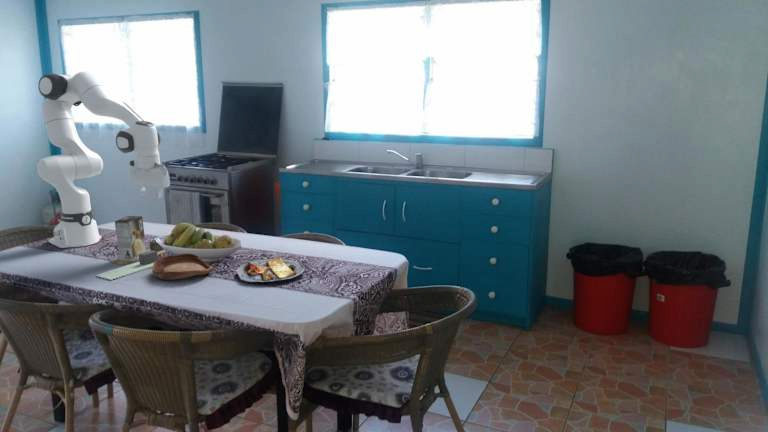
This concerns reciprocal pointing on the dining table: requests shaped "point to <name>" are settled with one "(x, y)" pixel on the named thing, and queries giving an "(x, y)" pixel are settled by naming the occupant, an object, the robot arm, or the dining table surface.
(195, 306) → the dining table surface
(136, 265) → the sage strip
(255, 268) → the food plate
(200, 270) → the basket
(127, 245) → the coffee box
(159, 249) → the walnut strip
